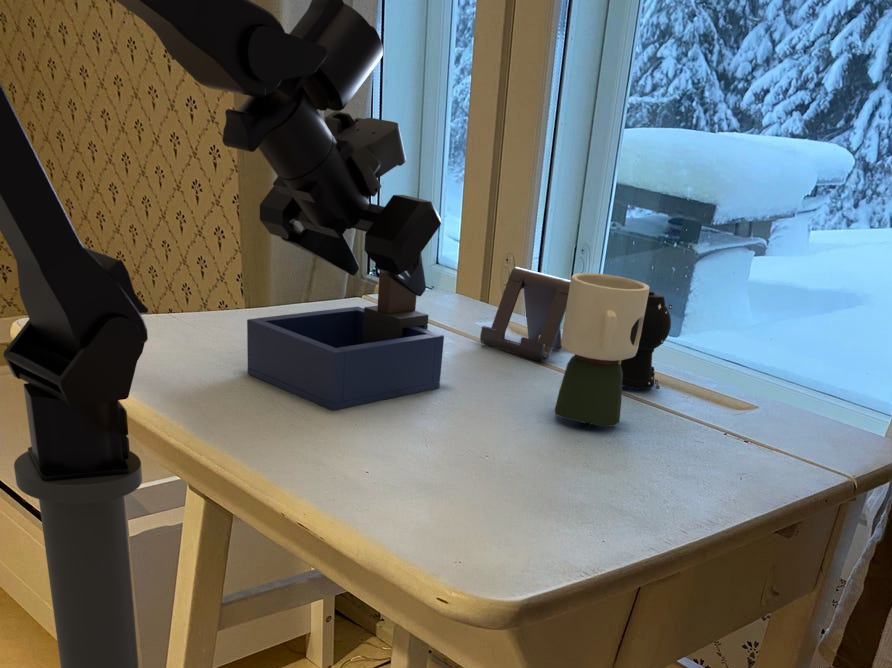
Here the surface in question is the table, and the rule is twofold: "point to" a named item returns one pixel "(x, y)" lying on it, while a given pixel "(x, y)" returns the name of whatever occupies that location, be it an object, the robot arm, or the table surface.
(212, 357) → the table surface
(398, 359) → the box
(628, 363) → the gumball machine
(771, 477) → the table surface
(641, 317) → the character mug
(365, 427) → the table surface
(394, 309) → the tall backed stool
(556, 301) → the tablet stand
